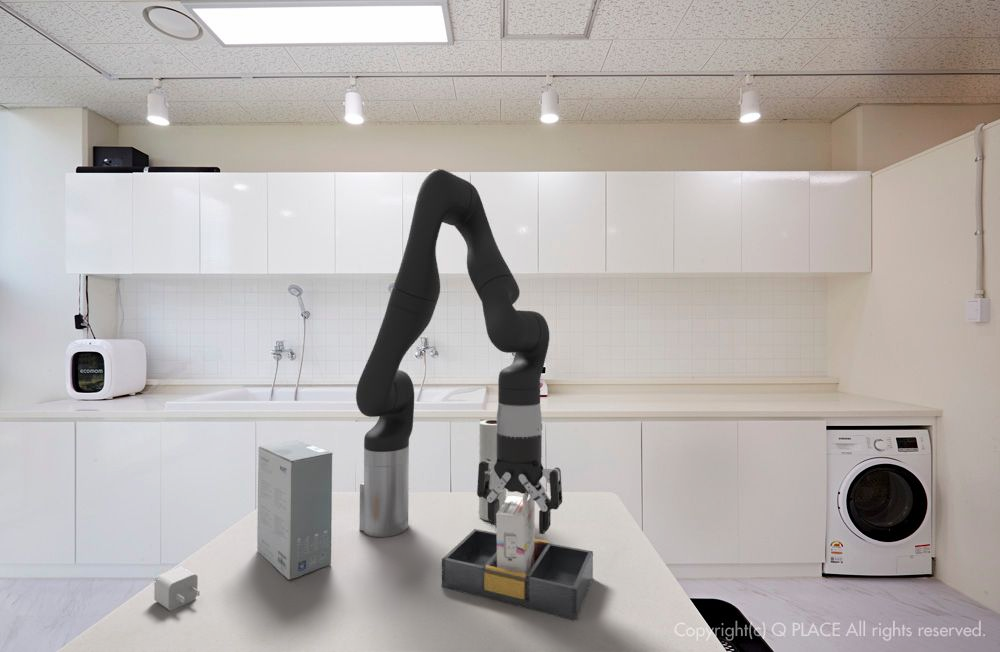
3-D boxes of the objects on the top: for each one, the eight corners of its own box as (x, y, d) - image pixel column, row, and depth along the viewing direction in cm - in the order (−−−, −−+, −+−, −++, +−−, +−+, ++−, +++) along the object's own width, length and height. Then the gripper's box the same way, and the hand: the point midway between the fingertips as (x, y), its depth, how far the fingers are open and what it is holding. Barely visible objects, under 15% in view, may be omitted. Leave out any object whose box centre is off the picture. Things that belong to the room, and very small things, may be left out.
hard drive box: (333, 565, 80) (334, 452, 80) (288, 582, 75) (290, 461, 75) (296, 537, 91) (297, 438, 91) (255, 551, 85) (256, 445, 85)
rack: (440, 588, 73) (440, 558, 73) (474, 553, 85) (474, 527, 85) (575, 622, 64) (575, 588, 65) (592, 578, 76) (592, 549, 76)
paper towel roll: (505, 522, 99) (506, 424, 99) (478, 521, 99) (478, 424, 99) (505, 509, 106) (506, 417, 106) (479, 509, 106) (480, 417, 106)
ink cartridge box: (507, 561, 80) (507, 477, 80) (535, 564, 79) (535, 480, 79) (494, 587, 71) (495, 494, 72) (525, 592, 70) (526, 497, 70)
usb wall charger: (183, 590, 72) (183, 565, 72) (206, 603, 69) (206, 577, 69) (154, 603, 69) (154, 576, 69) (176, 617, 65) (176, 590, 65)
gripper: (470, 430, 74) (470, 529, 74) (554, 438, 69) (553, 545, 69) (489, 422, 81) (488, 512, 81) (566, 429, 76) (566, 526, 76)
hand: (518, 527), depth 75 cm, fingers open, 8 cm apart
